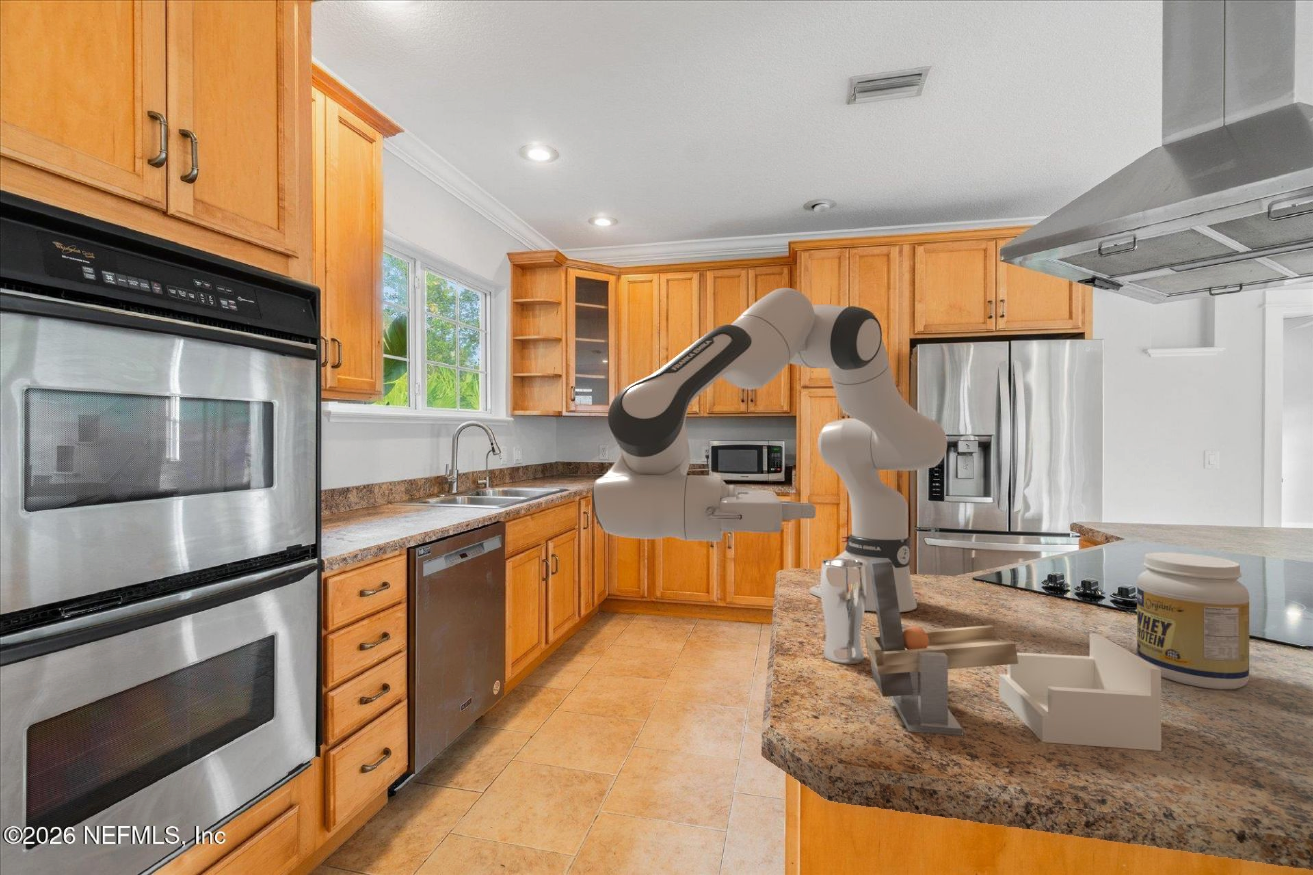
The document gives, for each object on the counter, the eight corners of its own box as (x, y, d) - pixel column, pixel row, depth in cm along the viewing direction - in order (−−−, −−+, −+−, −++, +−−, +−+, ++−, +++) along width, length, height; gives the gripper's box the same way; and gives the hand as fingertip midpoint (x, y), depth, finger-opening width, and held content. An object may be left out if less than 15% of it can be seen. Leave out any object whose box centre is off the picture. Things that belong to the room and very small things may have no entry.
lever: (882, 700, 72) (863, 569, 72) (870, 674, 79) (852, 556, 80) (1024, 690, 69) (1003, 555, 69) (996, 664, 77) (977, 543, 77)
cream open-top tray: (1042, 741, 67) (1042, 662, 67) (999, 696, 79) (998, 629, 79) (1161, 750, 65) (1160, 669, 65) (1098, 702, 77) (1098, 633, 77)
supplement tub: (1117, 657, 93) (1117, 549, 93) (1201, 660, 91) (1200, 551, 91) (1178, 690, 80) (1177, 566, 80) (1276, 694, 79) (1275, 568, 79)
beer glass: (834, 645, 98) (833, 556, 98) (874, 656, 93) (874, 562, 93) (812, 656, 93) (811, 562, 93) (853, 668, 88) (853, 569, 88)
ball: (900, 654, 75) (893, 630, 75) (915, 645, 77) (908, 621, 77) (921, 658, 73) (914, 633, 73) (937, 648, 74) (930, 623, 74)
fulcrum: (908, 731, 69) (907, 655, 69) (886, 689, 81) (885, 624, 81) (962, 735, 68) (962, 658, 68) (932, 692, 80) (932, 626, 80)
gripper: (703, 489, 69) (824, 492, 67) (714, 481, 90) (807, 482, 87) (703, 543, 69) (824, 547, 67) (714, 522, 90) (807, 525, 87)
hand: (814, 510), depth 77 cm, fingers closed
